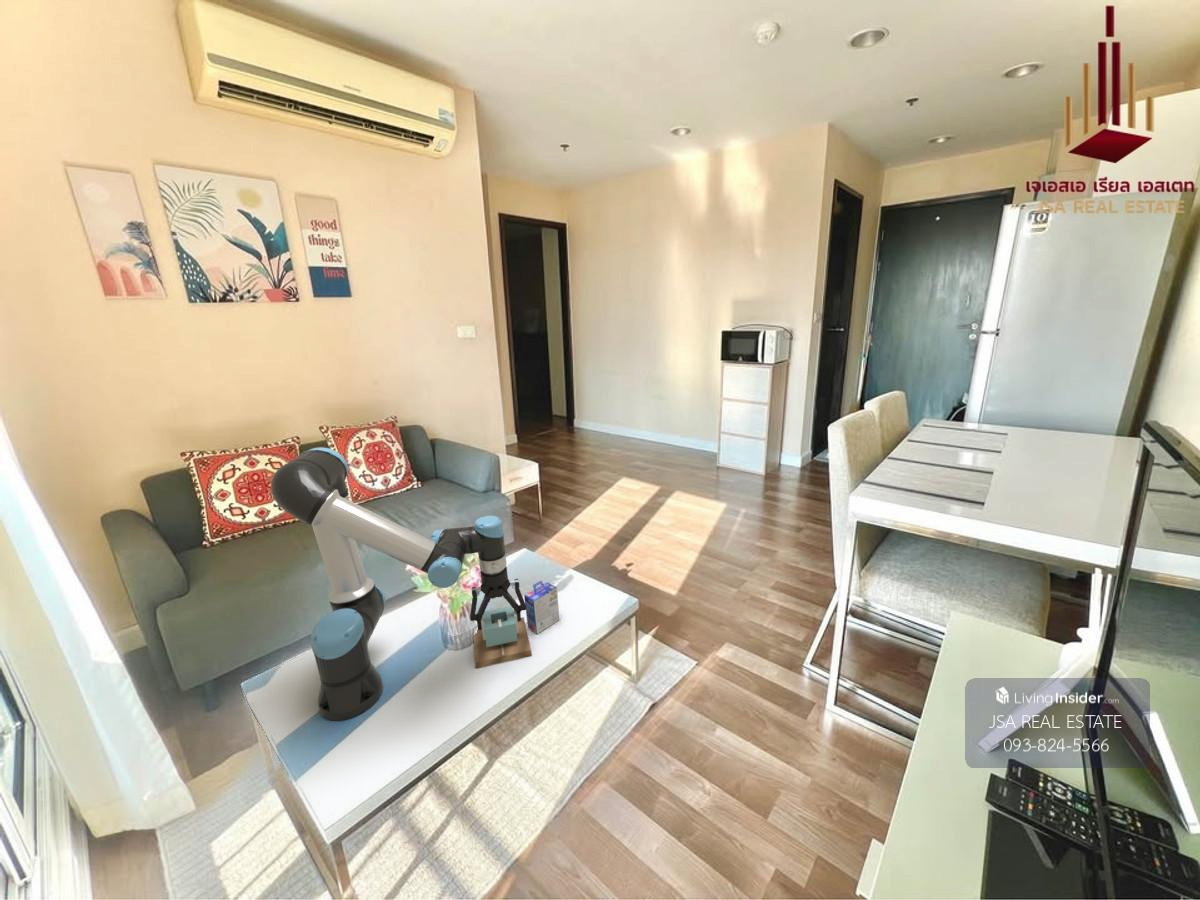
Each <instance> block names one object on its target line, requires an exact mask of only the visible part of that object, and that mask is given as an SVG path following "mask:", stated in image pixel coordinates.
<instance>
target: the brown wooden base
mask: <svg viewBox="0 0 1200 900" xmlns="http://www.w3.org/2000/svg"><path fill="white" fill-rule="evenodd" d="M498 620H501V622H503V621H504V620H503V619H502V618H499V619H496V620H495V622H494V623H498ZM518 632H519V633H517V640H518V641H513V642H509V643H504V644H500V645H495V646H491V647H487V646H486V640H483V633H482V630H477V633H476V634H475V635H474V636H473V651H474V663H475V669H480V668H483V667H488V666H493V665H496V664H501V663H506V662H509V661H514V660H519V659H522V658H523V659H524V658H527V657H531V656H532V655H533V654H532V648H531V644H530V640H529V635H528V634H529V633H528V631H527V626H526V622H525V618H524V617H523V616H521V621H519V622H518Z"/></svg>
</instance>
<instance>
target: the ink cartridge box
mask: <svg viewBox="0 0 1200 900" xmlns="http://www.w3.org/2000/svg"><path fill="white" fill-rule="evenodd" d="M532 586H533V589H532V590H531V591H529V592H528V593H526V594H524V596H523V599H524V602H525V605H526V610H525V614H526V622H527V623H526V624H527V629H529V630H530V631H532V632H533V633H535V634H536V635H537V634H539V633H541V632H543V631H544V630H545V629H548V628H549V627H550V626H552V625H554V624H555V623H556V622H558V621H560V611H559V609H560V608H559V607H560V606H559V598H558V597H559V596H558V587H557V586H555V585H553V584H551V583H550V582H547V581H546V582H545V583H544V582H543V581H542V580H540V581H538V582H536V583H534V584H532Z"/></svg>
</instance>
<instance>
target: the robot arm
mask: <svg viewBox="0 0 1200 900" xmlns="http://www.w3.org/2000/svg"><path fill="white" fill-rule="evenodd" d="M348 472H349V465H348V462H347V461H346V459H345V458H344V456H343V455H342V454H340V453H339V452H338V451H335V450H334V449H331V448H328V447H313V448H310V449H309V450H304V451H302V452H301V453H300V454H299V455H298V456H296V457H294V458H293V459H292V460H290V461H289V462H287V463H285V464H284V465H282V466H280V467H279V468H278V469H277V470H276V471H275V472H274V475H273V476H272V478H271V480H270V481H271V482H270V493H271V495H272V497H273V500H274V501H275V503H276V504H277V505H278V507H280V508H281V509H282V511H284V512H285V513H287V514H289V515H290V516H292V517H294V518H295V519H297V520H299V521H300V522H303V523H305V524H308V525H309V526H311V527H312V530H313V533H314V535H315V539H316V542H317V546H318V548H319V551H320V554H321V558H322V561H323V563H324V568H325V570H326V573H327V577H328V579H329V582H330V586H331V589H332V590H331V591H330V593H329V594H328V600H329V605H330V608H331V610H332V611H331V612H329V613H326V616H323V617H321V618H320V619H319V620H318V621H317V622H316V623H315V624H314V626H313V627H312V630H311V633H310V640H311V641H310V642H311V643H310V645H311V650H312V652H313V655H314V658H315V663H316V666H317V670H318V674H319V678H320V689H319V693H318V694H319V695H318V701H317V705H318V710H319V714H320V715H321V716H322V717H323V718H325V719H327V720H330V721H343V720H344V721H345V720H348V719H351V718H354V717H356V716H358V715H360V714H361V715H362V713H365V712H366V711H367V710H369V709H370V708H371V707H372V706H374V705H375V704H376V703H377V701H379V698H380V697H381V696H382V693H383V690H384V683H383V679H382V676H381V674H380V673H379V671H378V670H377V669H376V667H375V666H374V665H373V664H372V662H371V656H370V651H369V642H370V639H371V637H372V635H373V633H374V630H375V629H376V627H377V625H378V623H379V621H380V618H381V617H382V616H383V613H384V610H385V605H386V596H385V592H384V591H383V589H382V588H381V587H380V586H379V585H376V583H375V581H374V579H372V578H370V577H367V576H366V575H367V574H366V571H365V568H364V565H363V561H362V558H361V555H360V552H359V551H360V550H359V548H358V545H357V544H358V543H360V544H361V545H364V546H366V547H369V548H371V549H373V550H376V551H377V552H380V553H382V554H385V555H386V556H389V557H390V558H392V559H395V560H398V561H399V562H402V563H404V564H406V565H409V566H411V567H412V568H415V569H417V570H419V571H422V572H424V573H426V574H427V579H428V580H429V582H430V584H431V585H432V586H434V587H436V588H439V589H447V588H450V587H452V586H454V585H455V584H456V583H457V582H458V580H459V578H460V575H461V573H462V570H463V563H464V559H465V556H466V555H472V554H476V553H477V555H478V562H479V569H480V573H479V574H480V578H481V579H480V580H481V581H480V582H481V585H480V586H478V587H475V586H472V587H471V596H472V597H473V598H472V597H471V598H472V599H471V606H470V611H469V612H470V613H469V621H470V622H474V621H476V622H477V623H476V624H477V625H476V627H478V630H482V633H483V640H486V638H485V629H484V619H483V614H484V612H485V611H487V610H486V609H487V607H488V605H489V603H490V601H491V600H494V599H496V598H501V597H502V598H503V599H505V600H506V601H507V603H508V604H509V606H512V608H513V612H514V617H515V621H516V629H517V633H519V632H518V622H519V621H521V618H522V615H521V613H522V611H526V605H525V598H524V596H523V595H522V592H521V589H520V582H519V581H520V580H519V578H515V579H514V580H509V575H508V567H507V557H506V556H507V555H506V548H505V547H506V546H505V536H504V534H505V533H504V528H503V522H502V520H501V518H499V516H497V515H485V516H481V517H478V518H477V519H476V520H475V521H474V525H472V526H463V527H452V528H449V527H448V528H447V527H446V528H443V529H437V530H436V529H435V530H434V531H433V532H432V533H431V536H430V539H429V538H426V537H424V536H423V535H421V534H419V533H416V532H414V531H412V530H410V529H408V528H406V527H404V526H402V525H400V524H398V523H397V522H394V521H391V519H388V518H386V517H384V516H382V515H380V514H378V513H375V512H374V511H372V510H369V509H368V508H365V507H364V506H361V505H359V504H357V503H355V502H353V501H351V500H348V497H349V495H350V494H349V491H348V486H347V484H346V481H345V480H346V478H348V477H347V476H348ZM357 542H358V543H357ZM510 587H511V588H512V589H514V591H515V594H516V596H517V599H518V602H519V604H518V603H517V601H516V600H515V598H513V596H512V595H511V594H510V593H509V591H508V590H509V588H510ZM481 593H483V594H484V596H483V598H482V601H481V604H480V606H479V608H478V610H477V604H478V597H479V596H480V594H481ZM476 610H477V612H476Z"/></svg>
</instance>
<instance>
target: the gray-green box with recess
mask: <svg viewBox="0 0 1200 900" xmlns="http://www.w3.org/2000/svg"><path fill="white" fill-rule="evenodd" d="M513 610H514V609H513V608H512V606H511V605H509V606H504V607H499V608H495V609H489V610H485V612H484V614H483V619H484V629H485V638H486V646H487V647H491V646H495V645H500V644H504V643H509V642H513V641H518V640H517V629H516V621H515V617H514V612H513ZM499 618H502V619H503V620H504V621H503V622H501V620H498V623H494V622H495V620H496V619H499Z"/></svg>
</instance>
